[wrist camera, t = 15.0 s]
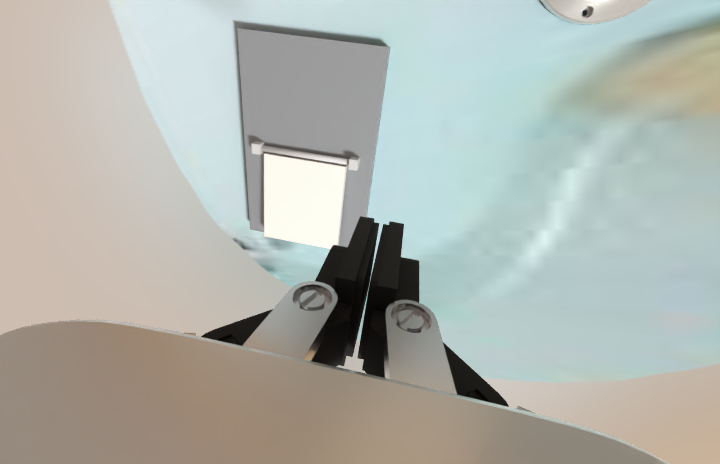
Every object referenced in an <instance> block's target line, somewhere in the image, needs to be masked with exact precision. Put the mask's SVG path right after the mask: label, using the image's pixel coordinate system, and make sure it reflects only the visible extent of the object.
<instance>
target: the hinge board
mask: <svg viewBox="0 0 720 464" xmlns="http://www.w3.org/2000/svg"><path fill="white" fill-rule="evenodd" d="M237 32H238V47H239V63H240V78H241V94H242V109H243V125H244V140H245V156H246V171H247V187H248V202H249V218H250V229H251V230H256V231H262V232H264V154H265V153H267V152H268V153H274V154H281V155H287V156H293V157H299V158H305V159H311V160H317V161H323V162H330V163H336V164H342V165H347V173H346V182H345V191H344V200H343V209H342V218H341V227H340V236H339V245H338V246H344V247H348V245H349V243H350V240H351V238H352V235H353V233H354V230H355V228H356V225H357V223H358V220H359V218H360V216H362V217H367V211H368V203H369V196H370V189H371V182H372V175H373V167H374V160H375V153H376V146H377V139H378V131H379V124H380V117H381V110H382V103H383V95H384V88H385V81H386V74H387V67H388V60H389V52H390V48H389V47H384V46H376V45H368V44H360V43H352V42H344V41H336V40H328V39H320V38H312V37H304V36H296V35H288V34H280V33H272V32H264V31H256V30H248V29H240V28H237Z"/></svg>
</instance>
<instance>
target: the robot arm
mask: <svg viewBox="0 0 720 464" xmlns="http://www.w3.org/2000/svg"><path fill="white" fill-rule="evenodd" d="M650 1H651V0H541V2H542V3H543V4H544V6H545V7H546V8H547V9H548V10H549V11H550V12H551V13H553V14H554V15H555V16H557V17H558V18H561V19H563V20H565V21H567V22H571V23H577V24H598V23H602V22H607V21H611V20H614V19H617V18H620V17H623V16H626V15H627V14H629V13H631V12H633V11H635V10H637V9H639V8H641V7H642V6H644V5H645V4H647V3H648V2H650ZM583 10H585V11H586V14H585V16H584V17H583V16H582V11H583ZM378 227H379V223H374V219H373V218H367V217H362V216H360V218H359V220H358V223H357V225H356V228H355V230H354V233H353V235H352V238H351V240H350V243H349V245H348V247H344V246H338V245H333V246H332V248H331V250H330V252H329V254H328V256H327V258H326V260H325V262H324V264H323V266H322V268H321V270H320V272H319V274H318V276H317V278H316V280H315V281H308V282H303V283H300V284H298V285H295V286H294V287H293V288H292V289H290V291H289V292H288V293H287V294H286V295H285V296H284V297H283V299H282V300H281V301H280V302H279V303H278V304H277V306H276V307H275V308H274V309H272V310H269V311H266V312H264V313H261V314H258V315H255V316H252V317H249V318H247V319H243V320H241V321H238V322H235V323H232V324H229V325H226V326H223V327H220V328H217V329H215V330H212V331H210V332H208V333H206V334H204V335H203V336H201V337H199V336H196V334H195V333H180V332H175V331H170V330H165V329H159V328H153V327H148V326H142V325H137V324H131V323H125V322H115V321H106V320H71V321H59V322H49V323H42V324H36V325H31V326H27V327H22V328H19V329H16V330H13V331H10V332H7V333H4V334H2V335H0V464H670V463H668V462H666V461H664V460H663V459H661V458H659V457H657V456H655V455H653V454H651V453H650V452H648V451H646V450H644V449H641V448H639V447H637V446H634V445H632V444H630V443H627V442H625V441H623V440H620V439H618V438H616V437H613V436H610V435H607V434H604V433H601V432H598V431H596V430H592V429H590V428H587V427H584V426H580V425H577V424H573V423H569V422H565V421H562V420H558V419H554V418H551V417H547V416H543V415H540V414H536V413H533V412H531V411H529V410H526V409H524V408H522V407H519V406H518V407H517V409H515V408H511V407H509V406H508V404H507V402H506V401H505V400H504V399H503V398H502V397H501V396H500V395H499V393H498V392H496V391H495V390H494V389H493V388H492V387H491V386H490V385H489V384H488V383H487V382H486V381H485V380H483V379H482V378H481V377H480V376H479V375H478V374H477V373H476V372H475V371H474V370H473V369H471V368H470V367H469V366H468V365H467V364H466V363H465V362H464V361H463V360H462V359H461V358H459V357H458V356H457V355H456V354H455V353H454V352H453V351H452V350H451V349H450V348H449V347H447V346H446V345H445V344H444V343H443V341H442V337H441V334H440V330H439V326H438V323H437V319H436V317H435V315H434V314H433V312H432V311H431V310H430V309H429V308H427V307H426V306H424V305H423V304H421V303H419V261H418V260H413V259H407V258H402V257H401V248H402V238H403V228H404V224H401V223H395V222H390V223H389V225H385V224H383V228H382V233H381V237H380V241H379V246H378V250H377V254H376V259H375V263H374V268H373V272H372V276H371V270H372V264H373V258H374V252H375V246H376V240H377V234H378ZM370 277H371V281H370ZM369 282H370V286H369ZM368 288H369V291H368ZM367 292H368V297H367V303H366V310H365V316H364V322H363V328H362V334H361V340H360V347H359V352H358V358H360V359H364V362H363V369H362V370H364V371H365V372H366V373H367V374H365V373H361V372H356V371H352V370H348V369H343V368H339V367H336V366H338V365H341V366H344V363H345V359H346V356H351V357H352V356H353V353H354V348H355V344H356V340H357V335H358V331H359V327H360V322H361V318H362V314H363V309H364V305H365V301H366V296H367Z"/></svg>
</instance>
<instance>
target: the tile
mask: <svg viewBox="0 0 720 464" xmlns="http://www.w3.org/2000/svg"><path fill="white" fill-rule="evenodd" d="M346 173H347V165H342V164H336V163H330V162H323V161H317V160H311V159H305V158H299V157H293V156H287V155H281V154H274V153H268V152H267V153H265V154H264V236H266V237H271V238H276V239H281V240H287V241H292V242H297V243H302V244H308V245H313V246H318V247H324V248H329V249H331V248H332V246H333V245H339V236H340V227H341V218H342V209H343V200H344V191H345V182H346Z"/></svg>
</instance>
